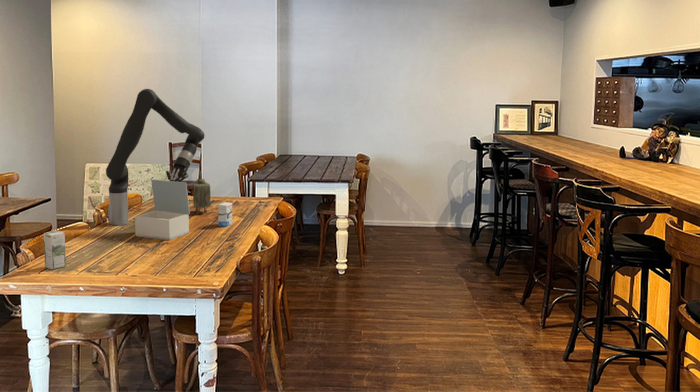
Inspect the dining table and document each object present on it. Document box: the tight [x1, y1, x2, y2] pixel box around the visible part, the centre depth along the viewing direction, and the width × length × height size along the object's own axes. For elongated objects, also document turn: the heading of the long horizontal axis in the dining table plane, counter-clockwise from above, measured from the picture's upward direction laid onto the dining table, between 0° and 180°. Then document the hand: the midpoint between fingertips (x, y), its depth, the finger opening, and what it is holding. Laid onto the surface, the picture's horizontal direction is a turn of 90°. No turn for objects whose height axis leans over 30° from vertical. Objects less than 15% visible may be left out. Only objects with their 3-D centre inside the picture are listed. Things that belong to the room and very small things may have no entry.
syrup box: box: [43, 230, 67, 270], centre depth 247 cm, size 6×6×14 cm
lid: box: [150, 179, 191, 215], centre depth 310 cm, size 21×16×1 cm
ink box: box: [217, 201, 233, 228], centre depth 331 cm, size 8×5×12 cm, turn 168°
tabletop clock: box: [192, 170, 211, 215], centre depth 361 cm, size 14×9×25 cm, turn 17°
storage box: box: [134, 210, 190, 241], centre depth 305 cm, size 20×16×10 cm
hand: (170, 187), depth 309 cm, fingers closed
